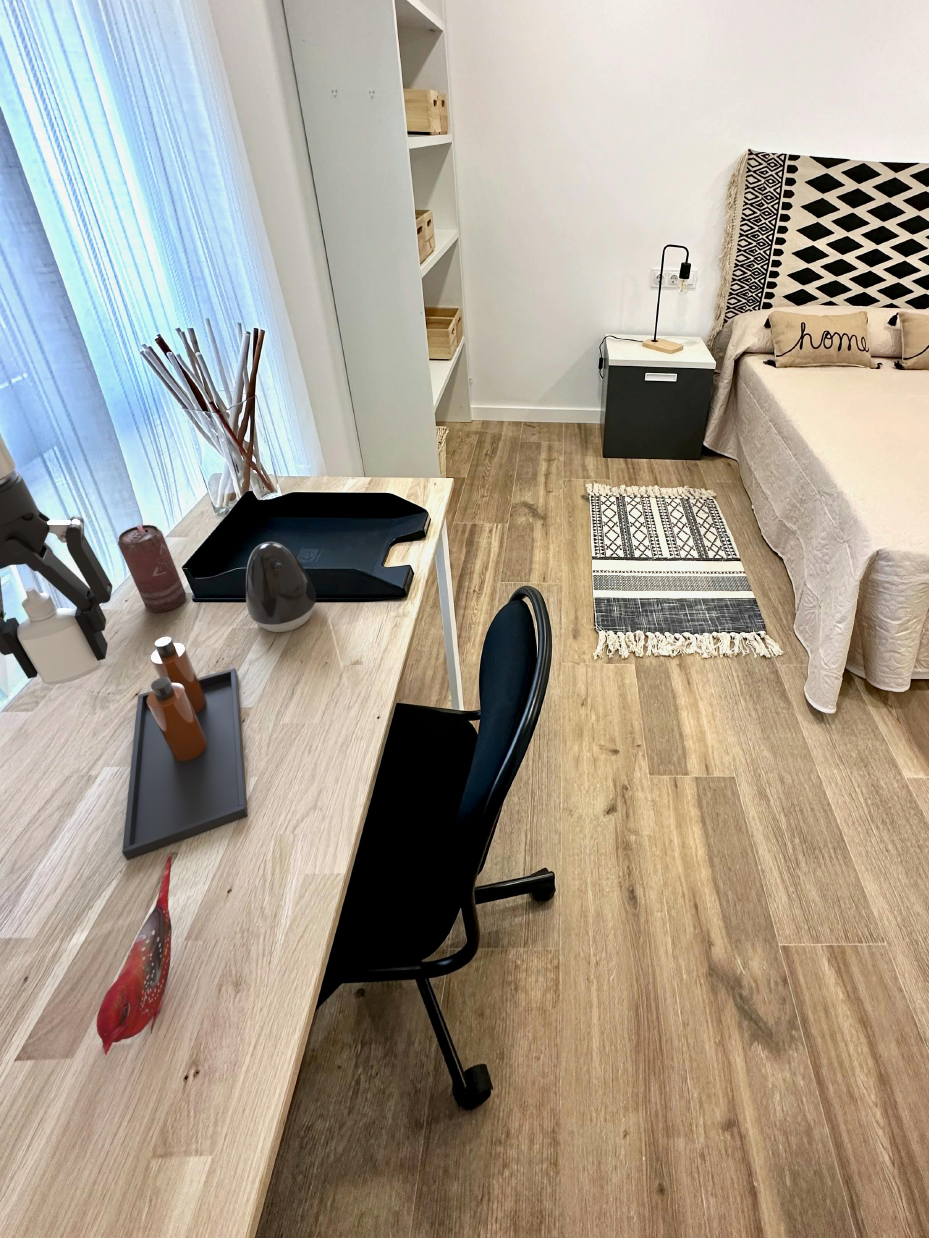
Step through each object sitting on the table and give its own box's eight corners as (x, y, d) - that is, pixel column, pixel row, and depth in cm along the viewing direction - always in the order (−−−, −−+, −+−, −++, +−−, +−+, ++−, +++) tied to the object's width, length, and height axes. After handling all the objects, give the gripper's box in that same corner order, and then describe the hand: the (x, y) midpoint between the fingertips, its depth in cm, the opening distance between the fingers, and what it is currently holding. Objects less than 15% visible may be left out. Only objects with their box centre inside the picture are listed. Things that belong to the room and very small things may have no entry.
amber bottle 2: (173, 742, 83) (142, 677, 77) (207, 732, 85) (179, 667, 78) (172, 766, 80) (139, 700, 74) (207, 754, 82) (178, 688, 75)
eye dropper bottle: (91, 683, 72) (46, 600, 65) (37, 687, 71) (-13, 603, 65) (110, 656, 75) (70, 575, 69) (59, 659, 75) (13, 578, 68)
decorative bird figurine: (120, 1097, 54) (73, 1049, 48) (173, 890, 68) (141, 836, 63) (158, 1086, 54) (116, 1037, 49) (202, 883, 69) (174, 829, 63)
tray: (143, 705, 89) (138, 694, 88) (238, 677, 94) (234, 667, 93) (128, 863, 70) (121, 852, 69) (249, 819, 75) (244, 808, 74)
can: (181, 585, 112) (155, 518, 104) (190, 604, 108) (163, 535, 100) (142, 599, 109) (112, 530, 101) (149, 618, 104) (119, 548, 97)
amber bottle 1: (174, 700, 89) (146, 636, 83) (206, 691, 91) (180, 627, 84) (174, 720, 86) (144, 656, 80) (206, 711, 88) (180, 646, 81)
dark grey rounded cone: (265, 651, 99) (240, 573, 91) (246, 617, 105) (221, 541, 97) (330, 625, 104) (312, 548, 96) (307, 593, 111) (289, 520, 103)
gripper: (-183, 522, 54) (-45, 712, 66) (81, 478, 61) (162, 656, 73) (-147, 484, 59) (-26, 665, 71) (91, 448, 67) (164, 618, 79)
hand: (69, 660), depth 72 cm, fingers closed on eye dropper bottle, 6 cm apart
